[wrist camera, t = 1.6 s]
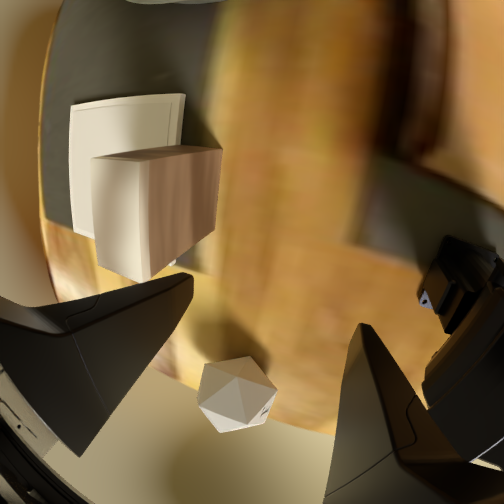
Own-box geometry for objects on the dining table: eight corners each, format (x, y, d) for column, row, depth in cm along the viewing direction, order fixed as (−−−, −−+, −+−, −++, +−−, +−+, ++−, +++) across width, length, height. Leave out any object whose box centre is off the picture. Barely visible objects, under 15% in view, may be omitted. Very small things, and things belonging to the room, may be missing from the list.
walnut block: (222, 149, 21) (139, 162, 12) (214, 229, 24) (143, 284, 15) (180, 144, 22) (90, 158, 13) (176, 220, 25) (98, 265, 16)
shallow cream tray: (185, 94, 19) (180, 93, 19) (175, 262, 26) (170, 266, 26) (76, 105, 23) (70, 105, 22) (78, 229, 30) (73, 232, 29)
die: (249, 397, 33) (275, 447, 24) (185, 393, 30) (196, 449, 21) (266, 346, 32) (300, 393, 23) (196, 338, 29) (210, 391, 20)
